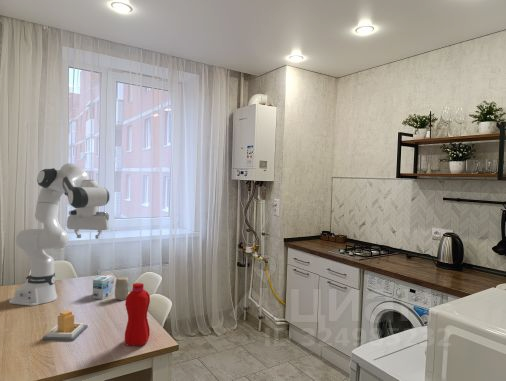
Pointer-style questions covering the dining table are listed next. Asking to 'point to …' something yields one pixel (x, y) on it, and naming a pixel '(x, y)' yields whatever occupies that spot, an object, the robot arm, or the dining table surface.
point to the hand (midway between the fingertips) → (88, 238)
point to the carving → (121, 288)
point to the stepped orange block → (66, 322)
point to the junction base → (70, 336)
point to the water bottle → (137, 316)
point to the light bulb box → (103, 286)
